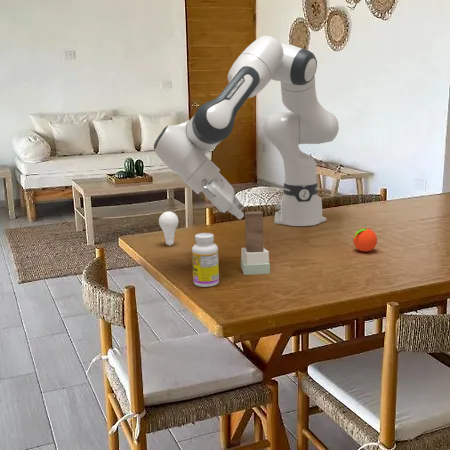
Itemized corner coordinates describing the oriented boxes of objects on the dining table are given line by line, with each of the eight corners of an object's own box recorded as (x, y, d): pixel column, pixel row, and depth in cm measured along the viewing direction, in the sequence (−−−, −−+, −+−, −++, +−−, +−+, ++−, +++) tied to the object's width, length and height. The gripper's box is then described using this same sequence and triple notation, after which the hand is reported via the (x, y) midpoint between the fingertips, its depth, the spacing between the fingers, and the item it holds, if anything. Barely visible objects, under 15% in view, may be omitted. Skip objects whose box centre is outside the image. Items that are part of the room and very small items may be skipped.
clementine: (362, 256, 171) (362, 232, 169) (345, 251, 176) (345, 228, 175) (381, 251, 175) (382, 228, 173) (364, 246, 180) (365, 224, 179)
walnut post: (246, 247, 163) (245, 211, 161) (262, 247, 163) (261, 211, 161) (246, 251, 158) (245, 214, 156) (263, 251, 158) (262, 214, 156)
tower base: (241, 268, 165) (240, 257, 164) (266, 266, 165) (265, 256, 164) (244, 276, 158) (243, 265, 157) (270, 274, 158) (269, 264, 158)
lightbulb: (183, 243, 189) (181, 210, 187) (173, 249, 184) (171, 214, 181) (166, 242, 192) (164, 209, 189) (156, 247, 186) (154, 213, 184)
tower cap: (241, 258, 163) (241, 248, 163) (262, 256, 165) (262, 246, 164) (247, 264, 158) (247, 254, 157) (268, 262, 159) (268, 252, 158)
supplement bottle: (192, 279, 155) (190, 232, 152) (218, 278, 155) (216, 231, 152) (193, 288, 148) (191, 239, 145) (220, 287, 149) (218, 237, 146)
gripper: (210, 175, 145) (250, 213, 147) (214, 163, 165) (250, 197, 167) (192, 193, 146) (233, 231, 148) (199, 179, 166) (234, 213, 168)
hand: (242, 213), depth 158 cm, fingers open, 8 cm apart
